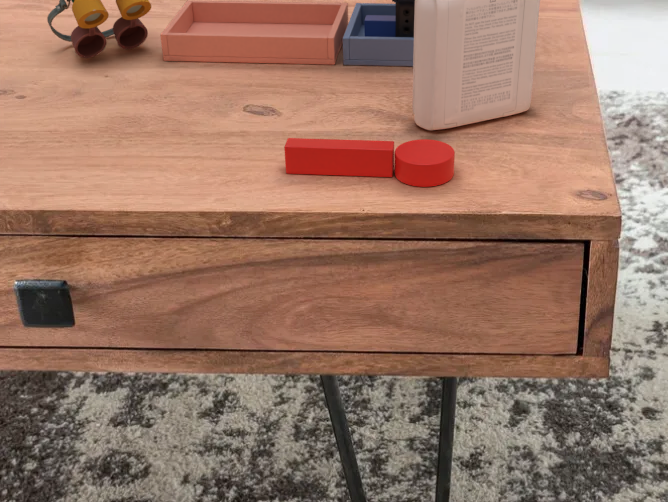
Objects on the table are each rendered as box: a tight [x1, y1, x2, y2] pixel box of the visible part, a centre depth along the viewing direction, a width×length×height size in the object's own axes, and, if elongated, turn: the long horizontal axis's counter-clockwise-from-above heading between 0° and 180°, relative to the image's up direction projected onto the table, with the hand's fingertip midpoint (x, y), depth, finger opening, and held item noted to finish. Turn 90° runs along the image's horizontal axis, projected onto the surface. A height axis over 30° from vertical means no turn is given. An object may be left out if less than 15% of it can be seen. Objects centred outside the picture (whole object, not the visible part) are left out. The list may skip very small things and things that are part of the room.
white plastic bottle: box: [412, 0, 541, 131], centre depth 83 cm, size 10×4×12 cm, turn 116°
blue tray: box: [342, 2, 414, 67], centre depth 99 cm, size 16×10×2 cm, turn 83°
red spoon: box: [283, 137, 455, 188], centre depth 78 cm, size 12×4×2 cm, turn 83°
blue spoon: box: [364, 15, 396, 37], centre depth 99 cm, size 12×4×2 cm, turn 83°
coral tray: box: [159, 0, 349, 66], centre depth 101 cm, size 16×10×2 cm, turn 83°
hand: (408, 35), depth 99 cm, fingers closed
